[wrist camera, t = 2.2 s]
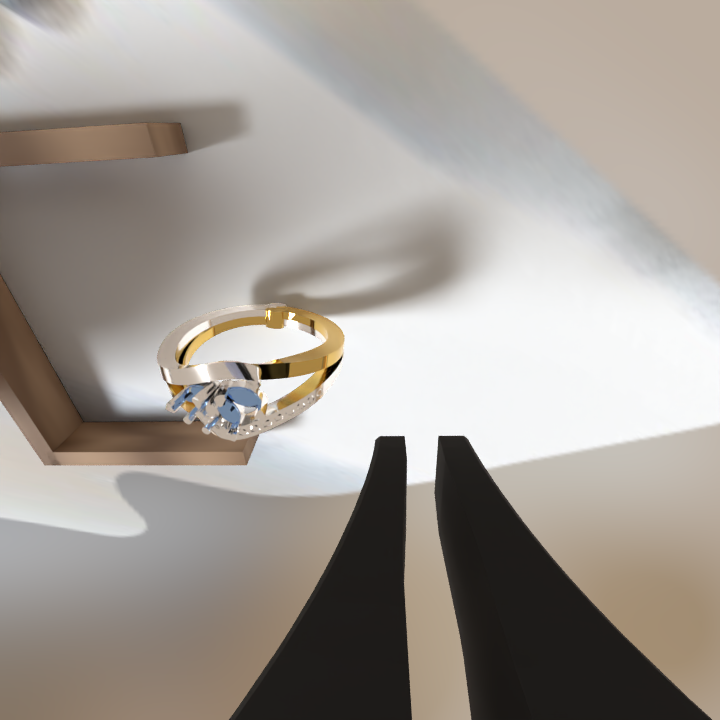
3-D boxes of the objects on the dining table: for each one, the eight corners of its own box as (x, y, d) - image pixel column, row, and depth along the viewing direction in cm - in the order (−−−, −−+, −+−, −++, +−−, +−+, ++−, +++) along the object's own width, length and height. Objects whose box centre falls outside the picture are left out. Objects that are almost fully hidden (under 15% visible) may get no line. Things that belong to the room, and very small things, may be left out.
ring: (210, 332, 19) (117, 444, 12) (203, 271, 18) (90, 361, 11) (347, 346, 19) (328, 466, 13) (352, 287, 18) (334, 387, 11)
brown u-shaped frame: (75, 434, 24) (44, 465, 21) (-98, 141, 15) (-176, 144, 13) (259, 433, 23) (246, 465, 21) (180, 123, 15) (145, 122, 12)
